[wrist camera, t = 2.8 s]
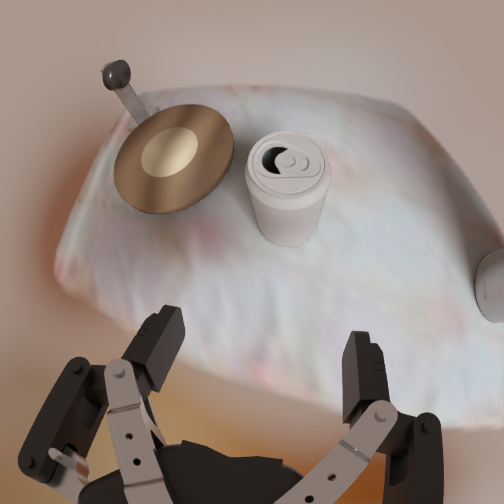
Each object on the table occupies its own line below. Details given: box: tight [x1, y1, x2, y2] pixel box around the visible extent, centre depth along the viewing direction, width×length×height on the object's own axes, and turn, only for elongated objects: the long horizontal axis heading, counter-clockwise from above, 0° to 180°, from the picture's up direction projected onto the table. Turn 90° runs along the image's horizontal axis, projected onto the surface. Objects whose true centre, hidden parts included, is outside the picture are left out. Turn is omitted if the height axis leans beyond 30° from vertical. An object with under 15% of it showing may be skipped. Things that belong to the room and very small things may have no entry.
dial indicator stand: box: [101, 60, 159, 132], centre depth 30 cm, size 4×5×13 cm
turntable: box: [114, 104, 234, 214], centre depth 31 cm, size 16×16×1 cm
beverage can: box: [245, 131, 331, 248], centre depth 24 cm, size 6×6×12 cm
